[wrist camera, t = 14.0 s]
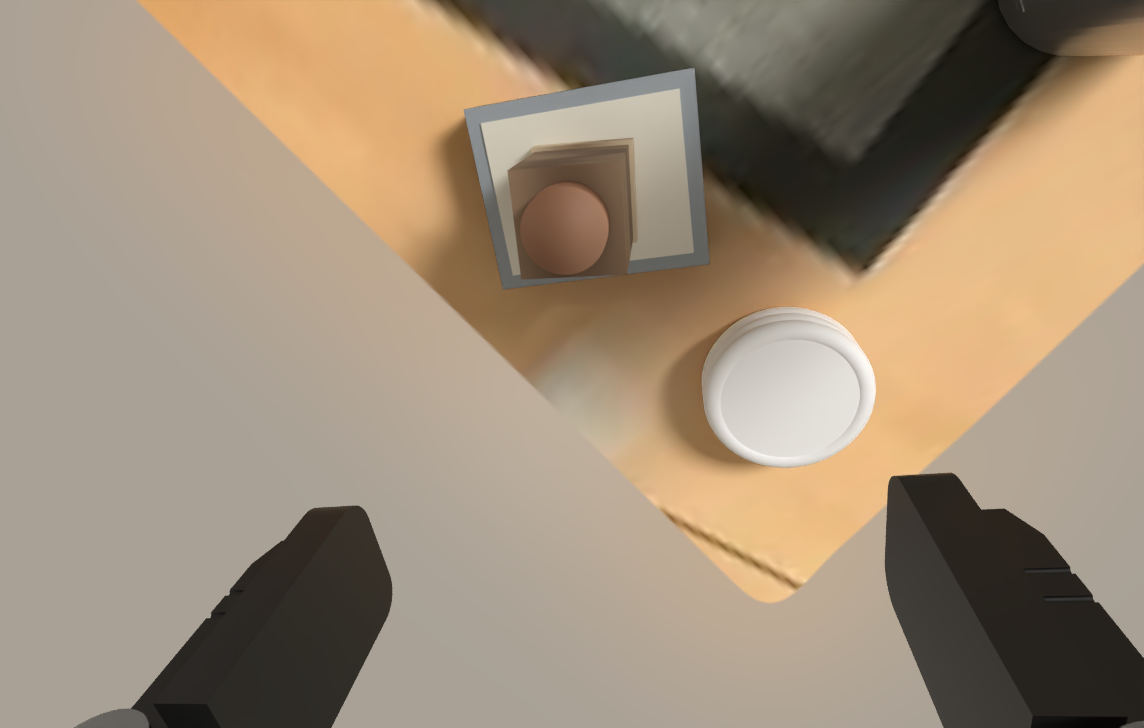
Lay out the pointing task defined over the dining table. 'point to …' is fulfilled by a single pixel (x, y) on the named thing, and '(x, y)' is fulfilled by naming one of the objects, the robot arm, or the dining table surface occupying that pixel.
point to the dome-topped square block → (575, 209)
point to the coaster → (787, 387)
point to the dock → (602, 112)
